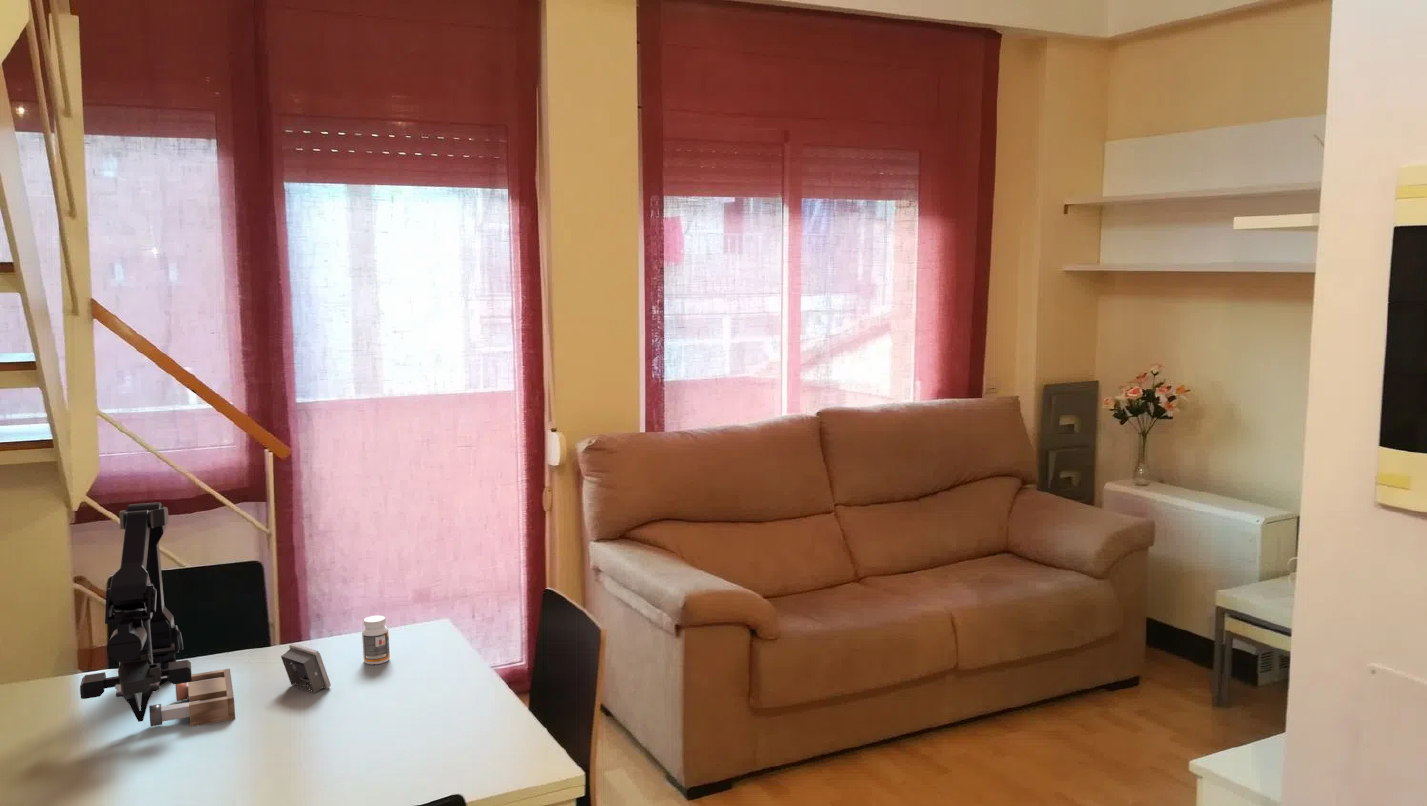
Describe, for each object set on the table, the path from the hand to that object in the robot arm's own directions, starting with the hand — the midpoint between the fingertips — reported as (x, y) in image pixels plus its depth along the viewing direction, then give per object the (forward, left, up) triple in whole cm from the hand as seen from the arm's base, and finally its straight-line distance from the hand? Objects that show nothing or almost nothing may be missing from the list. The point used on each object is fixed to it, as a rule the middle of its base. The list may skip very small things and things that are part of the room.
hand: (140, 720), depth 206 cm
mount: (+4, +13, -2) cm, 14 cm away
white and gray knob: (+4, +5, -1) cm, 6 cm away
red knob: (-2, +15, -1) cm, 15 cm away
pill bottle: (+18, +46, -2) cm, 50 cm away
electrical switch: (+15, +28, -2) cm, 32 cm away
